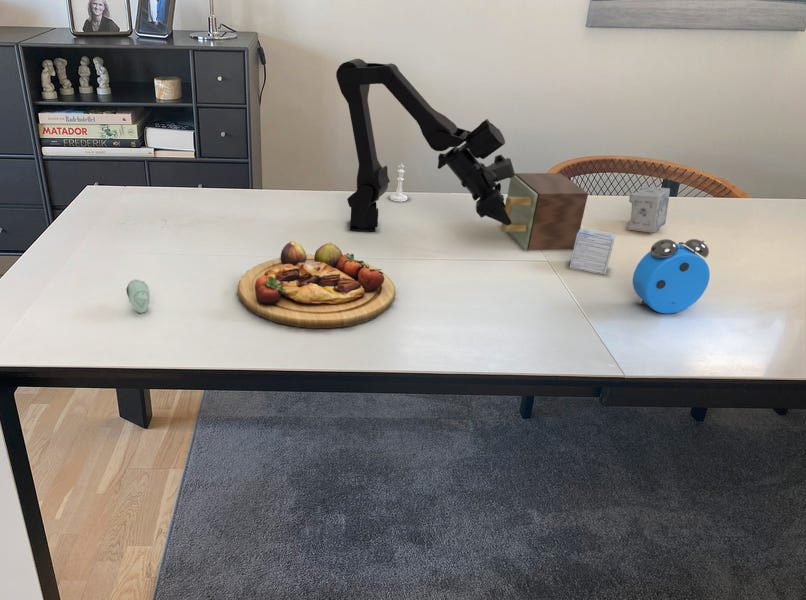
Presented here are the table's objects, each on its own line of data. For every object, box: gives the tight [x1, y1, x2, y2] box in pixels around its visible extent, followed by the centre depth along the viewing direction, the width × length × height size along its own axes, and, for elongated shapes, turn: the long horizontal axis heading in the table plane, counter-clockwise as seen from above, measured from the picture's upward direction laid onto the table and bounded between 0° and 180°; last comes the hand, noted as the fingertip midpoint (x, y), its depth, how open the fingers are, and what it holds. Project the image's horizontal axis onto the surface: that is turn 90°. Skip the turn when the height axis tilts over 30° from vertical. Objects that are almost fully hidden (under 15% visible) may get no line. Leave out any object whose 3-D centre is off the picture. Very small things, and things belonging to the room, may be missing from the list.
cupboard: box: [515, 172, 589, 251], centre depth 173 cm, size 12×16×14 cm
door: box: [500, 175, 538, 251], centre depth 171 cm, size 7×16×14 cm, turn 8°
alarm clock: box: [632, 238, 711, 315], centre depth 140 cm, size 13×6×15 cm, turn 97°
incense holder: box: [627, 186, 671, 233], centre depth 182 cm, size 10×8×10 cm
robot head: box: [126, 279, 150, 314], centre depth 132 cm, size 8×4×7 cm, turn 17°
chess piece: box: [389, 162, 408, 203], centre depth 195 cm, size 5×5×10 cm
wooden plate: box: [237, 240, 396, 329], centre depth 141 cm, size 32×32×8 cm
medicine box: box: [569, 226, 616, 275], centre depth 158 cm, size 8×4×9 cm, turn 65°
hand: (508, 220), depth 166 cm, fingers open, 5 cm apart
